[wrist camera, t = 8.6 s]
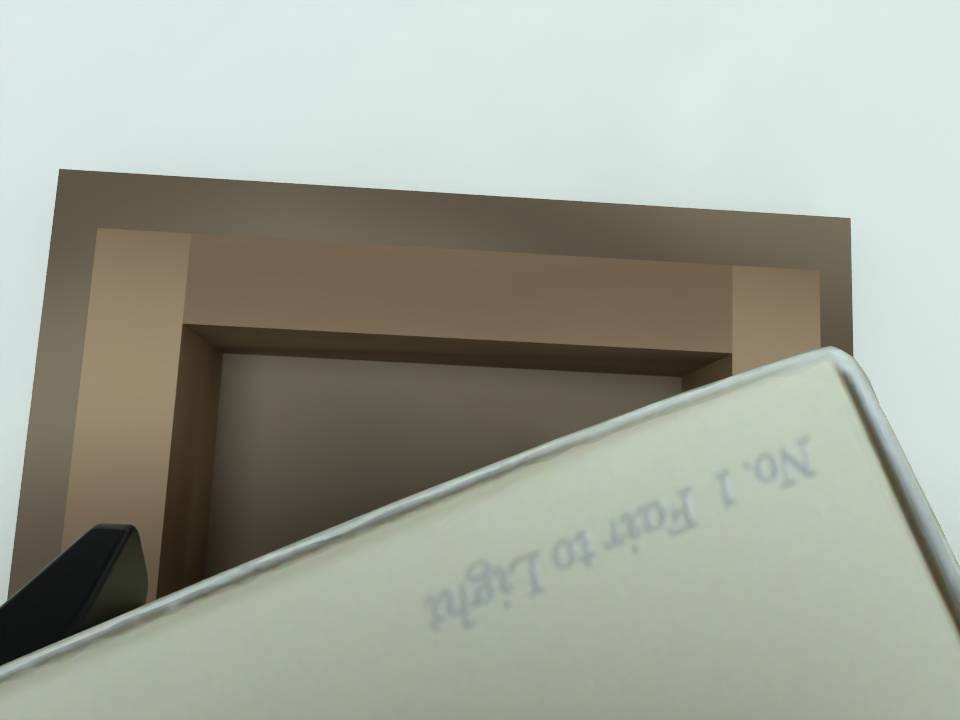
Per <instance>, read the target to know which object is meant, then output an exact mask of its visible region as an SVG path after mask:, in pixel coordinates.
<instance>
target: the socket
mask: <svg viewBox="0 0 960 720" xmlns="http://www.w3.org/2000/svg"><path fill="white" fill-rule="evenodd" d="M828 346H833V347H836V348H838V349H840V350H842V351H844V352H846V353H847V354H849V355H851V356H852V357H853V320H852V270H851V220H850V218H839V217H823V216H807V215H791V214H775V213H759V212H743V211H727V210H710V209H694V208H678V207H662V206H646V205H630V204H614V203H598V202H582V201H566V200H549V199H533V198H517V197H501V196H485V195H469V194H453V193H437V192H421V191H405V190H388V189H372V188H356V187H340V186H324V185H308V184H292V183H276V182H260V181H244V180H228V179H211V178H195V177H179V176H163V175H147V174H131V173H115V172H99V171H83V170H67V169H59V176H58V184H57V193H56V201H55V209H54V218H53V226H52V234H51V242H50V251H49V259H48V267H47V275H46V284H45V292H44V300H43V309H42V317H41V325H40V333H39V342H38V350H37V358H36V366H35V375H34V383H33V391H32V400H31V408H30V416H29V424H28V433H27V441H26V449H25V457H24V466H23V474H22V482H21V490H20V499H19V507H18V515H17V524H16V532H15V540H14V548H13V557H12V565H11V573H10V581H9V590H8V598H7V600H8V599H10V598H11V597H12V596H13V595H14V594H15V593H16V592H18V591H19V590H20V589H21V588H22V587H23V586H24V585H26V584H27V583H28V582H29V581H30V580H31V579H32V578H34V577H35V576H36V575H37V574H38V573H39V572H40V571H42V570H43V569H44V568H45V567H46V566H47V565H48V564H50V563H51V562H52V561H53V560H54V559H55V558H56V557H58V556H59V555H60V554H61V553H62V552H63V551H64V550H66V549H67V548H68V547H69V546H70V545H71V544H72V543H74V542H75V541H76V540H77V539H78V538H79V537H80V536H82V535H83V534H84V533H85V532H86V531H87V530H88V529H90V528H91V527H93V526H94V525H96V524H100V523H111V524H130V525H133V526H135V527H136V529H137V530H138V532H139V536H140V540H141V545H142V550H143V555H144V559H145V564H146V569H147V574H148V592H147V598H146V602H145V605H146V604H148V603H150V602H153V601H155V600H157V599H159V598H162V597H164V596H167V595H169V594H171V593H174V592H176V591H179V590H181V589H183V588H186V587H188V586H191V585H193V584H195V583H198V582H200V581H203V580H205V579H207V578H210V577H212V576H215V575H217V574H219V573H222V572H224V571H227V570H229V569H232V568H234V567H236V566H239V565H241V564H244V563H246V562H249V561H251V560H253V559H256V558H258V557H261V556H263V555H266V554H268V553H270V552H273V551H275V550H278V549H280V548H283V547H285V546H287V545H290V544H292V543H295V542H297V541H300V540H302V539H305V538H307V537H309V536H312V535H314V534H317V533H319V532H322V531H324V530H327V529H329V528H331V527H334V526H336V525H339V524H341V523H344V522H346V521H349V520H351V519H353V518H356V517H358V516H361V515H363V514H366V513H368V512H371V511H373V510H375V509H378V508H380V507H383V506H385V505H388V504H390V503H393V502H395V501H398V500H400V499H403V498H405V497H408V496H410V495H413V494H416V493H418V492H421V491H423V490H426V489H428V488H431V487H434V486H436V485H439V484H441V483H444V482H446V481H449V480H452V479H454V478H457V477H459V476H462V475H464V474H467V473H470V472H472V471H475V470H477V469H480V468H483V467H485V466H488V465H490V464H493V463H495V462H498V461H501V460H503V459H506V458H508V457H511V456H513V455H516V454H519V453H521V452H524V451H526V450H529V449H531V448H534V447H537V446H539V445H542V444H544V443H547V442H550V441H552V440H555V439H557V438H560V437H563V436H565V435H568V434H571V433H573V432H576V431H579V430H582V429H584V428H587V427H590V426H593V425H595V424H598V423H601V422H604V421H606V420H609V419H612V418H614V417H617V416H620V415H623V414H625V413H628V412H631V411H634V410H636V409H639V408H642V407H644V406H647V405H650V404H653V403H655V402H658V401H661V400H664V399H666V398H669V397H672V396H674V395H677V394H680V393H683V392H686V391H689V390H692V389H695V388H698V387H701V386H704V385H707V384H710V383H713V382H716V381H719V380H722V379H725V378H728V377H731V376H734V375H736V374H739V373H742V372H745V371H748V370H751V369H754V368H757V367H760V366H763V365H766V364H769V363H772V362H775V361H778V360H781V359H784V358H787V357H790V356H793V355H796V354H799V353H802V352H805V351H808V350H812V349H817V348H823V347H828Z"/></svg>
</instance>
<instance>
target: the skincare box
mask: <svg viewBox="0 0 960 720" xmlns="http://www.w3.org/2000/svg"><path fill="white" fill-rule="evenodd" d="M0 720H960V567H959V565H958V562H957V560H956V558H955V556H954V554H953V552H952V550H951V548H950V546H949V544H948V542H947V540H946V538H945V535H944V533H943V531H942V529H941V527H940V525H939V523H938V521H937V519H936V517H935V515H934V513H933V511H932V509H931V507H930V505H929V503H928V501H927V499H926V497H925V495H924V493H923V490H922V488H921V486H920V484H919V482H918V480H917V478H916V476H915V474H914V472H913V470H912V468H911V466H910V464H909V462H908V460H907V458H906V456H905V454H904V452H903V450H902V448H901V446H900V444H899V442H898V440H897V438H896V436H895V434H894V432H893V430H892V428H891V426H890V424H889V422H888V420H887V418H886V416H885V414H884V412H883V411H882V409H881V407H880V405H879V402H878V400H877V398H876V395H875V393H874V390H873V388H872V386H871V383H870V381H869V379H868V377H867V375H866V374H865V372H864V371H863V370H862V368H861V367H860V365H859V364H858V363H857V361H856V360H855V358H854V357H852V356H851V355H849V354H847V353H846V352H844V351H842V350H840V349H838V348H836V347H833V346H828V347H823V348H817V349H812V350H808V351H805V352H802V353H799V354H796V355H793V356H790V357H787V358H784V359H781V360H778V361H775V362H772V363H769V364H766V365H763V366H760V367H757V368H754V369H751V370H748V371H745V372H742V373H739V374H736V375H734V376H731V377H728V378H725V379H722V380H719V381H716V382H713V383H710V384H707V385H704V386H701V387H698V388H695V389H692V390H689V391H686V392H683V393H680V394H677V395H674V396H672V397H669V398H666V399H664V400H661V401H658V402H655V403H653V404H650V405H647V406H644V407H642V408H639V409H636V410H634V411H631V412H628V413H625V414H623V415H620V416H617V417H614V418H612V419H609V420H606V421H604V422H601V423H598V424H595V425H593V426H590V427H587V428H584V429H582V430H579V431H576V432H573V433H571V434H568V435H565V436H563V437H560V438H557V439H555V440H552V441H550V442H547V443H544V444H542V445H539V446H537V447H534V448H531V449H529V450H526V451H524V452H521V453H519V454H516V455H513V456H511V457H508V458H506V459H503V460H501V461H498V462H495V463H493V464H490V465H488V466H485V467H483V468H480V469H477V470H475V471H472V472H470V473H467V474H464V475H462V476H459V477H457V478H454V479H452V480H449V481H446V482H444V483H441V484H439V485H436V486H434V487H431V488H428V489H426V490H423V491H421V492H418V493H416V494H413V495H410V496H408V497H405V498H403V499H400V500H398V501H395V502H393V503H390V504H388V505H385V506H383V507H380V508H378V509H375V510H373V511H371V512H368V513H366V514H363V515H361V516H358V517H356V518H353V519H351V520H349V521H346V522H344V523H341V524H339V525H336V526H334V527H331V528H329V529H327V530H324V531H322V532H319V533H317V534H314V535H312V536H309V537H307V538H305V539H302V540H300V541H297V542H295V543H292V544H290V545H287V546H285V547H283V548H280V549H278V550H275V551H273V552H270V553H268V554H266V555H263V556H261V557H258V558H256V559H253V560H251V561H249V562H246V563H244V564H241V565H239V566H236V567H234V568H232V569H229V570H227V571H224V572H222V573H219V574H217V575H215V576H212V577H210V578H207V579H205V580H203V581H200V582H198V583H195V584H193V585H191V586H188V587H186V588H183V589H181V590H179V591H176V592H174V593H171V594H169V595H167V596H164V597H162V598H159V599H157V600H155V601H153V602H150V603H148V604H146V605H143V606H141V607H139V608H136V609H134V610H132V611H129V612H127V613H125V614H122V615H120V616H118V617H115V618H113V619H111V620H108V621H106V622H103V623H101V624H99V625H96V626H94V627H92V628H89V629H87V630H84V631H82V632H80V633H77V634H75V635H73V636H70V637H68V638H65V639H63V640H61V641H58V642H56V643H54V644H51V645H49V646H46V647H44V648H42V649H39V650H37V651H34V652H32V653H30V654H27V655H25V656H23V657H20V658H18V659H15V660H13V661H11V662H9V663H6V664H4V665H2V666H0Z"/></svg>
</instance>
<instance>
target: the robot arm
mask: <svg viewBox="0 0 960 720" xmlns="http://www.w3.org/2000/svg"><path fill="white" fill-rule="evenodd" d="M147 592H148V574H147V569H146V564H145V559H144V555H143V550H142V545H141V540H140V536H139V532H138V530H137V529H136V527H135V526H133V525H130V524H111V523H100V524H96V525H94V526H93V527H91V528H90V529H88V530H87V531H86V532H85V533H84V534H83V535H82V536H80V537H79V538H78V539H77V540H76V541H75V542H74V543H72V544H71V545H70V546H69V547H68V548H67V549H66V550H64V551H63V552H62V553H61V554H60V555H59V556H58V557H56V558H55V559H54V560H53V561H52V562H51V563H50V564H48V565H47V566H46V567H45V568H44V569H43V570H42V571H40V572H39V573H38V574H37V575H36V576H35V577H34V578H32V579H31V580H30V581H29V582H28V583H27V584H26V585H24V586H23V587H22V588H21V589H20V590H19V591H18V592H16V593H15V594H14V595H13V596H12V597H11V598H10V599H8V600H7V601H6V602H5V603H4V604H3V605H2V606H0V666H2V665H4V664H6V663H9V662H11V661H13V660H15V659H18V658H20V657H23V656H25V655H27V654H30V653H32V652H34V651H37V650H39V649H42V648H44V647H46V646H49V645H51V644H54V643H56V642H58V641H61V640H63V639H65V638H68V637H70V636H73V635H75V634H77V633H80V632H82V631H84V630H87V629H89V628H92V627H94V626H96V625H99V624H101V623H103V622H106V621H108V620H111V619H113V618H115V617H118V616H120V615H122V614H125V613H127V612H129V611H132V610H134V609H136V608H139V607H141V606H143V605H145V602H146V598H147Z"/></svg>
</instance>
